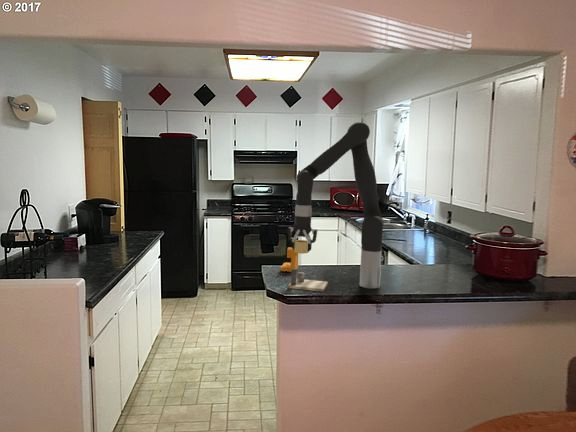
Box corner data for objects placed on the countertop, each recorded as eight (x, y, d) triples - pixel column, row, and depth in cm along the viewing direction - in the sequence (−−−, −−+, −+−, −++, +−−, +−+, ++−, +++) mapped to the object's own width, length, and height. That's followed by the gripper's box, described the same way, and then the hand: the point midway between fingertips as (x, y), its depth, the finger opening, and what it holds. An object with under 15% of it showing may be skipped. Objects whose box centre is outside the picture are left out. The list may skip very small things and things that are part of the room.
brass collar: (309, 251, 213) (310, 240, 212) (306, 254, 207) (307, 243, 206) (296, 249, 214) (297, 239, 214) (293, 252, 208) (293, 241, 208)
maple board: (327, 284, 213) (328, 267, 212) (323, 291, 202) (323, 273, 201) (294, 280, 217) (294, 264, 216) (287, 287, 206) (288, 270, 204)
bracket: (284, 267, 242) (285, 245, 240) (298, 268, 241) (298, 246, 239) (280, 272, 232) (281, 249, 230) (294, 273, 230) (295, 250, 228)
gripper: (320, 214, 210) (318, 250, 212) (290, 212, 214) (288, 247, 216) (316, 216, 203) (315, 253, 205) (285, 214, 206) (284, 250, 209)
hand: (301, 250), depth 210 cm, fingers closed on brass collar, 6 cm apart
